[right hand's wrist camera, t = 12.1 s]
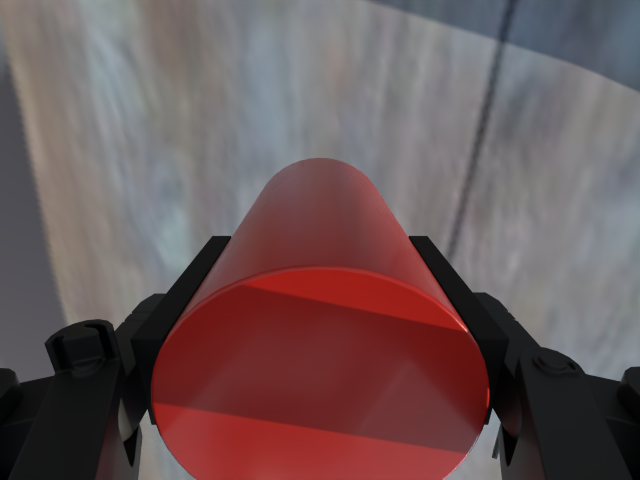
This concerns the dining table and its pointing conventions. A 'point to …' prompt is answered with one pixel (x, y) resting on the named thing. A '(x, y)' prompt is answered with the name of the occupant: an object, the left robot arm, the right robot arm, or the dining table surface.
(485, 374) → the can
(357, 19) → the dining table surface
